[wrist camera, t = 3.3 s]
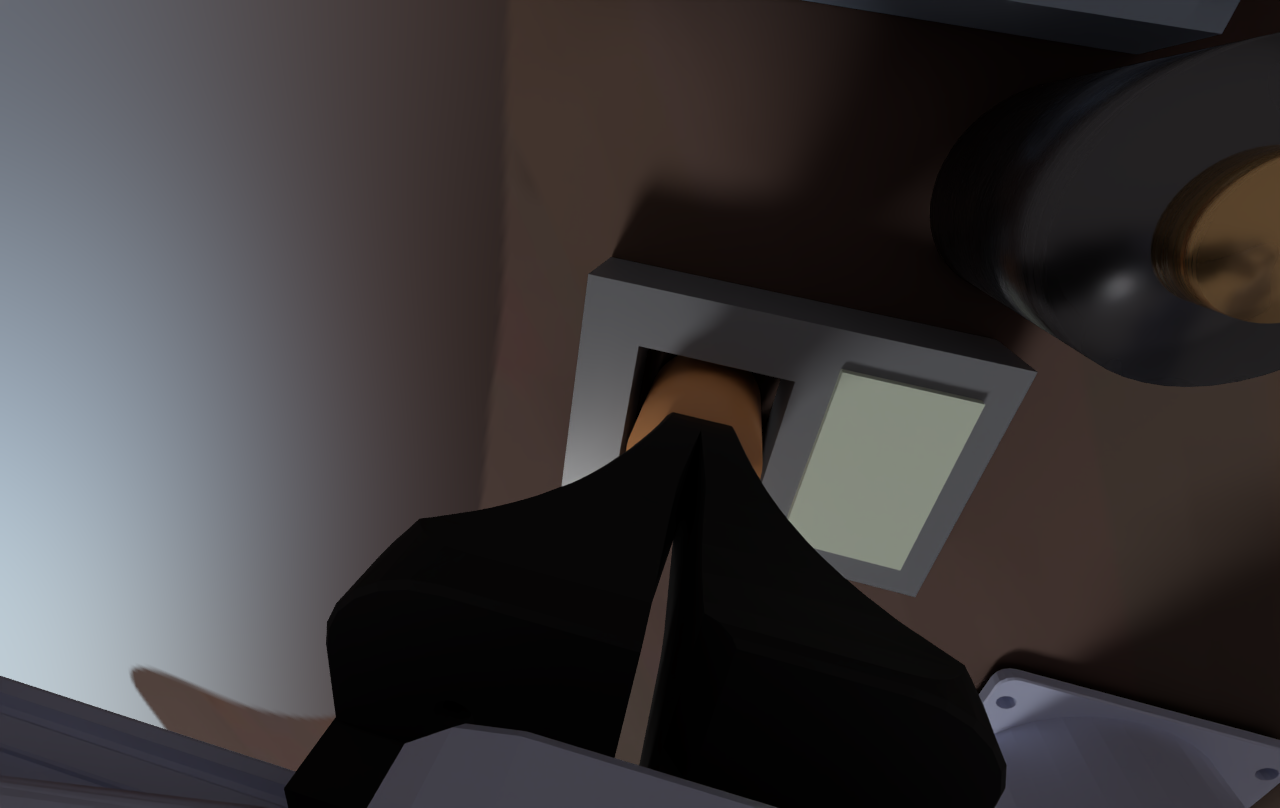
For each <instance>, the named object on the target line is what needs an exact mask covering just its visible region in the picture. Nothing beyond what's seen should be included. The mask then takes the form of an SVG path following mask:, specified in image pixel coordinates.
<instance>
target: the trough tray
mask: <svg viewBox="0 0 1280 808" xmlns="http://www.w3.org/2000/svg"><path fill="white" fill-rule="evenodd" d="M804 1H810V2H817V3H823V4H829V5H835V6H841V7H847V8H853V9H860V10H866V11H872V12H878V13H884V14H890V15H896V16H903V17H909V18H915V19H921V20H927V21H933V22H940V23H946V24H952V25H958V26H964V27H970V28H976V29H983V30H989V31H995V32H1001V33H1007V34H1013V35H1019V36H1026V37H1032V38H1038V39H1044V40H1050V41H1056V42H1063V43H1069V44H1075V45H1081V46H1087V47H1093V48H1099V49H1106V50H1112V51H1118V52H1124V53H1130V54H1136V55H1138V54H1142V53H1146V52H1150V51H1154V50H1158V49H1162V48H1166V47H1171V46H1175V45H1179V44H1183V43H1187V42H1191V41H1195V40H1199V39H1203V38H1207V37H1212V36H1216V35H1220V34H1222V33H1223V31H1224V29H1225V27H1226V26H1227V24H1228V22H1229V20H1230V18H1231V16H1232V15H1233V13H1234V11H1235V9H1236V7H1237V5H1238V3H1239V2H1240V0H804Z"/></svg>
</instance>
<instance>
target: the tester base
mask: <svg viewBox="0 0 1280 808" xmlns="http://www.w3.org/2000/svg"><path fill="white" fill-rule="evenodd" d="M649 348H650V349H654V350H659V351H663V352H667V353H672V354H676V355H680V356H685V357H689V358H694V359H698V360H702V361H707V362H711V363H715V364H720V365H724V366H728V367H733V368H737V369H741V370H746V371H750V372H755V373H759V374H763V375H768V376H772V377H776V378H781V380H780V383H779V386H778V389H777V393H776V396H775V399H774V402H773V405H772V408H771V412H770V415H769V418H768V421H767V424H766V428H765V431H764V434H763V437H762V459H763V465H762V474H761V478H760V480H761V482H762V484H763V485H764V487H765V489H766V490H767V492H768V493H769V494H770V496H771V497H772V499H773V500H774V502H775V503H776V504H777V506H778V507H779V509H780V510H781V511H782V513H783V514H784V515H785V516H786V518H787V519H788V520H789V521H790V522H791V524H792V525H793V526H794V527H795V528H796V529H797V530H798V532H799V533H800V534H801V535H802V536H803V537H804V538H805V540H806V541H807V542H808V543H809V544H810V545H811V546H812V547H813V548H814V549H815V550H816V551H817V552H818V553H819V554H820V555H821V556H822V557H823V558H824V559H825V560H826V561H827V562H828V563H829V564H830V565H831V566H832V567H834V568H835V569H836V570H837V571H838V572H839V573H840V574H841V575H842V576H843V577H844V578H845V579H848V580H852V581H856V582H859V583H863V584H867V585H871V586H875V587H879V588H882V589H886V590H890V591H894V592H898V593H902V594H905V595H909V596H913V597H915V596H916V594H917V593H918V591H919V589H920V587H921V585H922V583H923V582H924V580H925V578H926V576H927V574H928V572H929V571H930V569H931V567H932V565H933V563H934V561H935V560H936V558H937V556H938V554H939V552H940V550H941V549H942V547H943V545H944V543H945V541H946V539H947V538H948V536H949V534H950V532H951V530H952V528H953V527H954V525H955V523H956V521H957V519H958V517H959V516H960V514H961V512H962V510H963V508H964V506H965V505H966V503H967V501H968V499H969V497H970V495H971V494H972V492H973V490H974V488H975V486H976V484H977V483H978V481H979V479H980V477H981V475H982V473H983V472H984V470H985V468H986V466H987V464H988V462H989V461H990V459H991V457H992V455H993V453H994V451H995V449H996V448H997V446H998V444H999V442H1000V440H1001V438H1002V437H1003V435H1004V433H1005V431H1006V429H1007V427H1008V426H1009V424H1010V422H1011V420H1012V418H1013V416H1014V415H1015V413H1016V411H1017V409H1018V407H1019V405H1020V404H1021V402H1022V400H1023V398H1024V396H1025V394H1026V393H1027V391H1028V389H1029V387H1030V385H1031V383H1032V382H1033V380H1034V378H1035V376H1036V374H1037V371H1035V370H1034V369H1033V368H1032V367H1030V366H1029V365H1028V364H1027V363H1025V362H1024V361H1023V360H1022V359H1020V358H1019V357H1018V356H1017V355H1015V354H1014V353H1013V352H1012V351H1010V350H1009V349H1008V348H1006V347H1005V346H1004V345H1003V344H1001V343H1000V342H999V341H998V340H996V339H991V338H986V337H982V336H977V335H972V334H968V333H963V332H958V331H954V330H949V329H944V328H940V327H935V326H930V325H926V324H921V323H917V322H912V321H907V320H903V319H898V318H893V317H889V316H884V315H879V314H875V313H870V312H865V311H861V310H856V309H851V308H847V307H842V306H837V305H833V304H828V303H823V302H819V301H814V300H809V299H805V298H800V297H795V296H791V295H786V294H781V293H777V292H772V291H767V290H763V289H758V288H753V287H749V286H744V285H739V284H735V283H730V282H725V281H721V280H716V279H711V278H707V277H702V276H697V275H693V274H688V273H683V272H679V271H674V270H669V269H665V268H660V267H655V266H651V265H646V264H641V263H637V262H632V261H627V260H623V259H618V258H613V257H610V258H609V259H608V260H606V261H605V262H604V263H602V264H601V265H600V266H599V267H597V268H596V269H595V270H593V271H592V272H591V273H589V274H588V282H587V290H586V298H585V306H584V314H583V322H582V330H581V337H580V345H579V353H578V361H577V369H576V377H575V385H574V393H573V401H572V409H571V416H570V424H569V432H568V440H567V448H566V456H565V464H564V472H563V480H562V486H564V485H567V484H570V483H572V482H575V481H577V480H579V479H581V478H583V477H585V476H587V475H589V474H591V473H593V472H594V471H596V470H598V469H600V468H601V467H603V466H605V465H606V464H608V463H609V462H611V461H612V460H614V459H615V458H617V457H618V456H620V455H621V454H623V453H624V452H626V448H627V443H628V439H629V437H630V435H631V432H632V430H633V428H634V423H635V418H636V412H637V407H638V402H639V396H640V391H641V386H642V381H643V375H644V370H645V365H646V359H647V354H648V349H649Z"/></svg>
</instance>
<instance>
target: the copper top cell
mask: <svg viewBox="0 0 1280 808" xmlns="http://www.w3.org/2000/svg"><path fill="white" fill-rule="evenodd" d="M930 223H931V231H932V235H933V239H934V242H935V245H936V247H937V249H938V252H939V253H940V255H941V257H942V258H943V260H944V261H945V262H946V264H947V265H948V266H949V267H950V268H951V270H953V271H954V272H955V273H956V274H957V275H958V276H960V277H961V278H963V279H964V280H966V281H967V282H969V283H970V284H972V285H974V286H975V287H977V288H978V289H980V290H982V291H983V292H985V293H986V294H988V295H989V296H991V297H993V298H994V299H996V300H997V301H999V302H1001V303H1002V304H1004V305H1005V306H1007V307H1008V308H1010V309H1012V310H1013V311H1015V312H1016V313H1018V314H1020V315H1021V316H1023V317H1024V318H1026V319H1027V320H1029V321H1031V322H1032V323H1034V324H1035V325H1037V326H1039V327H1040V328H1042V329H1043V330H1045V331H1046V332H1048V333H1050V334H1051V335H1053V336H1054V337H1056V338H1058V339H1059V340H1061V341H1062V342H1064V343H1065V344H1067V345H1069V346H1070V347H1072V348H1073V349H1075V350H1077V351H1078V352H1080V353H1081V354H1083V355H1084V356H1086V357H1088V358H1089V359H1091V360H1092V361H1094V362H1096V363H1097V364H1099V365H1100V366H1102V367H1104V368H1105V369H1107V370H1109V371H1112V372H1114V373H1116V374H1119V375H1121V376H1123V377H1126V378H1130V379H1134V380H1137V381H1141V382H1144V383H1151V384H1157V385H1163V386H1181V387H1194V386H1212V385H1219V384H1225V383H1232V382H1238V381H1242V380H1246V379H1250V378H1254V377H1258V376H1263V375H1266V374H1269V373H1272V372H1275V371H1278V370H1280V32H1279V33H1274V34H1270V35H1265V36H1261V37H1256V38H1252V39H1247V40H1243V41H1238V42H1233V43H1229V44H1224V45H1220V46H1215V47H1211V48H1206V49H1201V50H1197V51H1192V52H1188V53H1183V54H1179V55H1174V56H1170V57H1165V58H1160V59H1156V60H1151V61H1147V62H1142V63H1138V64H1133V65H1129V66H1124V67H1119V68H1115V69H1110V70H1106V71H1101V72H1097V73H1092V74H1088V75H1083V76H1078V77H1074V78H1069V79H1065V80H1060V81H1056V82H1051V83H1047V84H1043V85H1039V86H1036V87H1033V88H1029V89H1027V90H1025V91H1022V92H1020V93H1018V94H1015V95H1013V96H1011V97H1009V98H1008V99H1006V100H1004V101H1002V102H1001V103H999V104H997V105H996V106H995V107H993V108H992V109H990V110H989V111H987V112H986V113H985V114H984V115H982V116H981V117H980V118H979V119H978V120H977V121H976V122H974V123H973V124H972V125H971V126H970V127H969V128H968V129H967V131H966V132H965V133H964V134H963V135H962V136H961V137H960V138H959V140H958V141H957V142H956V144H955V145H954V146H953V148H952V149H951V151H950V152H949V154H948V156H947V157H946V159H945V161H944V163H943V165H942V167H941V169H940V171H939V174H938V176H937V179H936V182H935V185H934V188H933V193H932V198H931V204H930Z"/></svg>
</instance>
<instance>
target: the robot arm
mask: <svg viewBox="0 0 1280 808" xmlns="http://www.w3.org/2000/svg"><path fill="white" fill-rule="evenodd" d="M673 538H674V539H673ZM672 542H673V547H672V557H671V568H670V578H669V589H668V599H667V610H666V620H665V631H664V639H663V646H662V653H661V659H660V664H659V669H658V674H657V679H656V684H655V689H654V694H653V700H652V705H651V710H650V715H649V720H648V725H647V730H646V735H645V740H644V745H643V750H642V755H641V760H640V765H636V764H632V763H629V762H626V761H622V760H619V759H616V758H614V757H615V753H616V749H617V745H618V741H619V737H620V733H621V729H622V725H623V721H624V717H625V713H626V709H627V705H628V701H629V697H630V693H631V689H632V685H633V681H634V677H635V673H636V669H637V665H638V661H639V657H640V652H641V648H642V644H643V640H644V635H645V631H646V626H647V622H648V617H649V613H650V609H651V604H652V601H653V598H654V595H655V592H656V589H657V586H658V583H659V580H660V577H661V574H662V571H663V568H664V565H665V562H666V560H667V557H668V554H669V551H670V548H671V545H672ZM326 646H327V653H328V660H329V668H330V676H331V683H332V691H333V699H334V706H335V714H336V718H335V719H334V721H333V722H332V723H331V725H330V726H329V727H328V729H327V730H326V731H325V733H324V734H323V735H322V737H321V738H320V740H319V741H318V742H317V744H316V745H315V746H314V748H313V749H312V750H311V752H310V753H309V755H308V756H307V757H306V759H305V760H304V761H303V763H302V764H301V765H300V767H299V768H298V770H297V771H296V772H295V771H292V770H289V769H286V768H283V767H280V766H277V765H274V764H271V763H267V762H264V761H261V760H258V759H255V758H252V757H249V756H246V755H243V754H240V753H237V752H234V751H230V750H227V749H224V748H221V747H218V746H215V745H212V744H209V743H206V742H203V741H200V740H197V739H193V738H190V737H187V736H184V735H181V734H178V733H175V732H172V731H169V730H166V729H163V728H159V727H157V726H153V725H150V724H147V723H144V722H141V721H138V720H135V719H132V718H129V717H126V716H122V715H120V714H116V713H113V712H110V711H107V710H104V709H101V708H98V707H95V706H92V705H89V704H85V703H83V702H79V701H76V700H73V699H70V698H67V697H64V696H61V695H58V694H55V693H52V692H49V691H45V690H42V689H39V688H36V687H33V686H30V685H27V684H24V683H21V682H18V681H14V680H12V679H9V678H5V677H2V676H0V808H1250V807H1251V806H1252V805H1253V804H1255V803H1256V802H1257V801H1258V800H1259V799H1261V798H1262V797H1263V796H1264V795H1266V794H1267V793H1268V792H1269V791H1270V790H1272V789H1273V788H1274V787H1275V786H1277V785H1278V784H1279V783H1280V740H1278V739H1274V738H1271V737H1267V736H1263V735H1260V734H1256V733H1252V732H1248V731H1245V730H1241V729H1237V728H1233V727H1230V726H1226V725H1222V724H1219V723H1215V722H1211V721H1207V720H1204V719H1200V718H1196V717H1193V716H1189V715H1185V714H1181V713H1178V712H1174V711H1170V710H1167V709H1163V708H1159V707H1155V706H1152V705H1148V704H1144V703H1141V702H1137V701H1133V700H1129V699H1126V698H1122V697H1118V696H1115V695H1111V694H1107V693H1103V692H1100V691H1096V690H1092V689H1089V688H1085V687H1081V686H1077V685H1074V684H1070V683H1066V682H1063V681H1059V680H1055V679H1051V678H1048V677H1044V676H1040V675H1036V674H1033V673H1029V672H1025V671H1022V670H1018V669H1012V668H1007V669H1001V670H999V671H997V672H995V673H994V674H993V675H992V676H991V678H990V679H989V680H988V682H987V683H986V685H985V686H984V688H983V689H982V691H981V692H980V693H979V694H978V692H977V690H976V688H975V686H974V684H973V682H972V679H971V677H970V675H969V673H968V671H967V670H966V667H965V665H963V664H962V663H960V662H959V661H957V660H956V659H954V658H953V657H951V656H950V655H948V654H947V653H945V652H944V651H942V650H941V649H939V648H938V647H936V646H935V645H933V644H932V643H930V642H929V641H927V640H926V639H924V638H923V637H921V636H920V635H918V634H917V633H915V632H914V631H912V630H911V629H909V628H908V627H906V626H905V625H903V624H902V623H901V622H899V621H898V620H897V619H895V618H894V617H893V616H891V615H890V614H889V613H887V612H886V611H885V610H884V609H882V608H881V607H880V606H878V605H877V604H876V603H875V602H873V601H872V600H871V599H869V598H868V597H867V596H866V595H864V594H863V593H862V592H861V591H859V590H858V589H857V588H856V587H855V586H854V585H852V584H851V583H850V582H849V581H848V580H847V579H845V578H844V577H843V576H842V575H841V574H840V573H839V572H838V571H837V570H836V569H835V568H834V567H832V566H831V565H830V564H829V563H828V562H827V561H826V560H825V559H824V558H823V557H822V556H821V555H820V554H819V553H818V552H817V551H816V550H815V549H814V548H813V547H812V546H811V545H810V544H809V543H808V542H807V541H806V540H805V538H804V537H803V536H802V535H801V534H800V533H799V532H798V530H797V529H796V528H795V527H794V526H793V525H792V524H791V522H790V521H789V520H788V519H787V518H786V516H785V515H784V514H783V513H782V511H781V510H780V509H779V507H778V506H777V504H776V503H775V502H774V500H773V499H772V497H771V496H770V494H769V493H768V492H767V490H766V489H765V487H764V485H763V484H762V482H761V480H760V478H759V477H758V475H757V473H756V472H755V470H754V468H753V466H752V465H751V463H750V461H749V459H748V457H747V455H746V453H745V451H744V449H743V447H742V445H741V443H740V441H739V438H738V436H737V434H736V432H735V430H734V428H733V427H732V426H730V425H725V424H721V423H717V422H713V421H709V420H704V419H700V418H696V417H692V416H688V415H683V414H679V413H675V412H672V413H670V414H669V415H667V416H666V417H665V418H664V419H663V420H662V421H661V422H660V423H659V424H658V425H657V426H656V427H655V428H654V429H653V430H652V431H651V432H650V433H649V434H648V435H646V436H645V437H644V438H643V439H641V440H640V441H639V442H638V443H636V444H635V445H634V446H633V447H631V448H630V449H629V450H627V451H626V452H624V453H623V454H621V455H620V456H618V457H617V458H615V459H614V460H612V461H611V462H609V463H608V464H606V465H605V466H603V467H601V468H600V469H598V470H596V471H594V472H593V473H591V474H589V475H587V476H585V477H583V478H581V479H579V480H577V481H575V482H572V483H570V484H567V485H564V486H562V487H559V488H556V489H554V490H551V491H548V492H546V493H543V494H540V495H538V496H534V497H531V498H528V499H524V500H520V501H517V502H513V503H509V504H505V505H501V506H496V507H492V508H487V509H482V510H477V511H471V512H465V513H458V514H452V515H444V516H438V517H431V518H422V519H419V520H418V521H416V522H415V523H414V524H413V525H412V526H411V527H410V528H409V529H408V530H407V531H406V532H404V533H403V534H402V535H401V536H400V537H399V538H397V539H396V540H395V541H394V542H393V543H392V544H391V545H390V546H389V547H388V548H387V549H386V550H385V551H384V552H383V553H382V554H381V555H380V556H379V557H378V558H377V559H376V561H375V562H374V563H373V564H372V565H371V566H370V567H369V568H368V569H367V570H366V572H365V573H364V574H363V575H362V576H361V577H360V578H359V579H358V580H357V581H356V583H355V584H354V585H353V586H352V587H351V588H350V589H349V590H348V591H347V592H346V593H345V595H344V596H343V597H342V598H341V599H340V600H339V601H338V602H337V603H336V605H335V607H334V609H333V611H332V613H331V615H330V617H329V619H328V621H327V637H326Z"/></svg>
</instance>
